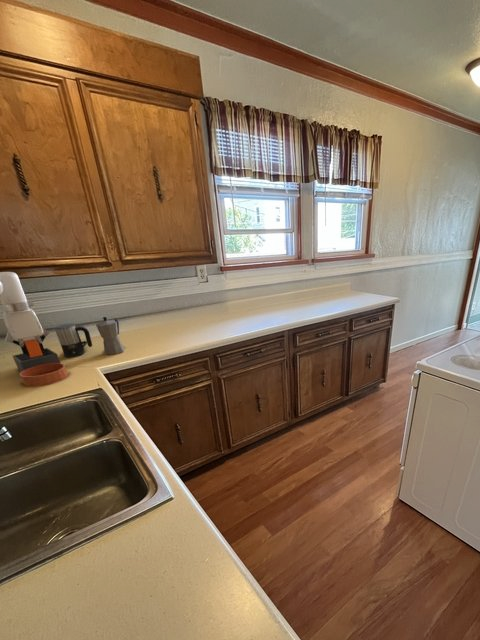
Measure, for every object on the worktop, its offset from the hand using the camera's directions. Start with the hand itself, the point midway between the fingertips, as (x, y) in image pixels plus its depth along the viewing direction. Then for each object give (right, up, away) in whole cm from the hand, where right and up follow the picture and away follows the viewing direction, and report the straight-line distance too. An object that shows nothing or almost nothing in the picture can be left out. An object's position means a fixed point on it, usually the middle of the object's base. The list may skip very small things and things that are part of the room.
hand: (34, 353), depth 130 cm
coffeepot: (+11, +7, +39) cm, 41 cm away
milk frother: (-10, +6, +39) cm, 41 cm away
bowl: (0, -10, +6) cm, 12 cm away
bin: (-11, -5, +16) cm, 20 cm away
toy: (0, -1, 0) cm, 1 cm away
